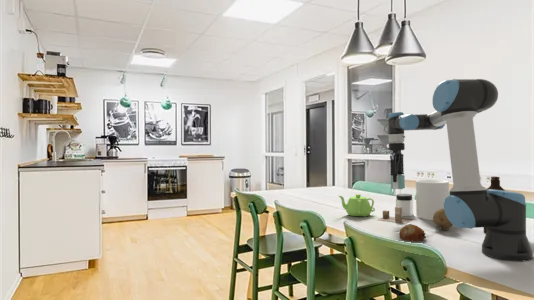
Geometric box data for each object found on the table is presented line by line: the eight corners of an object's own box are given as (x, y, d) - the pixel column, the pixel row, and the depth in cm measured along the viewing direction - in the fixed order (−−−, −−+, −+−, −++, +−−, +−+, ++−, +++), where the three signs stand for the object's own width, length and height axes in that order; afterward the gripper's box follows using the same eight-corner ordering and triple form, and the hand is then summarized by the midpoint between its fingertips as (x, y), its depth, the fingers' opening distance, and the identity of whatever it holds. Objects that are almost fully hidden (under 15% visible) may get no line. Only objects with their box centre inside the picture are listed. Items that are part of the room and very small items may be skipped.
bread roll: (408, 243, 154) (400, 226, 156) (430, 236, 148) (421, 218, 150) (401, 248, 147) (392, 230, 149) (424, 241, 141) (415, 223, 143)
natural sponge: (441, 233, 155) (441, 211, 155) (428, 228, 164) (428, 207, 164) (459, 231, 157) (458, 209, 157) (445, 226, 166) (445, 206, 166)
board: (406, 225, 170) (406, 223, 170) (376, 222, 180) (376, 220, 180) (413, 221, 179) (413, 219, 179) (385, 217, 189) (385, 216, 189)
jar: (393, 215, 194) (392, 194, 194) (405, 214, 197) (404, 193, 196) (403, 218, 186) (403, 196, 185) (416, 217, 188) (415, 195, 188)
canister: (434, 214, 194) (433, 178, 193) (457, 220, 178) (456, 181, 178) (410, 216, 190) (409, 180, 189) (430, 223, 174) (430, 183, 174)
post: (400, 221, 176) (400, 207, 176) (395, 220, 177) (394, 207, 177) (402, 220, 178) (401, 206, 178) (396, 219, 179) (396, 206, 179)
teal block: (401, 189, 174) (401, 176, 173) (391, 188, 177) (390, 175, 177) (404, 187, 178) (404, 175, 177) (394, 187, 181) (394, 174, 181)
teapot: (355, 221, 184) (355, 197, 183) (338, 216, 196) (337, 194, 196) (377, 217, 191) (377, 194, 191) (359, 213, 204) (358, 191, 203)
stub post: (387, 218, 184) (387, 211, 184) (382, 217, 185) (382, 211, 185) (389, 217, 186) (389, 210, 186) (384, 216, 187) (384, 210, 187)
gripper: (398, 142, 167) (399, 190, 168) (409, 142, 181) (410, 186, 182) (382, 143, 172) (383, 189, 173) (395, 142, 186) (396, 185, 187)
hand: (397, 187), depth 177 cm, fingers closed on teal block, 5 cm apart
